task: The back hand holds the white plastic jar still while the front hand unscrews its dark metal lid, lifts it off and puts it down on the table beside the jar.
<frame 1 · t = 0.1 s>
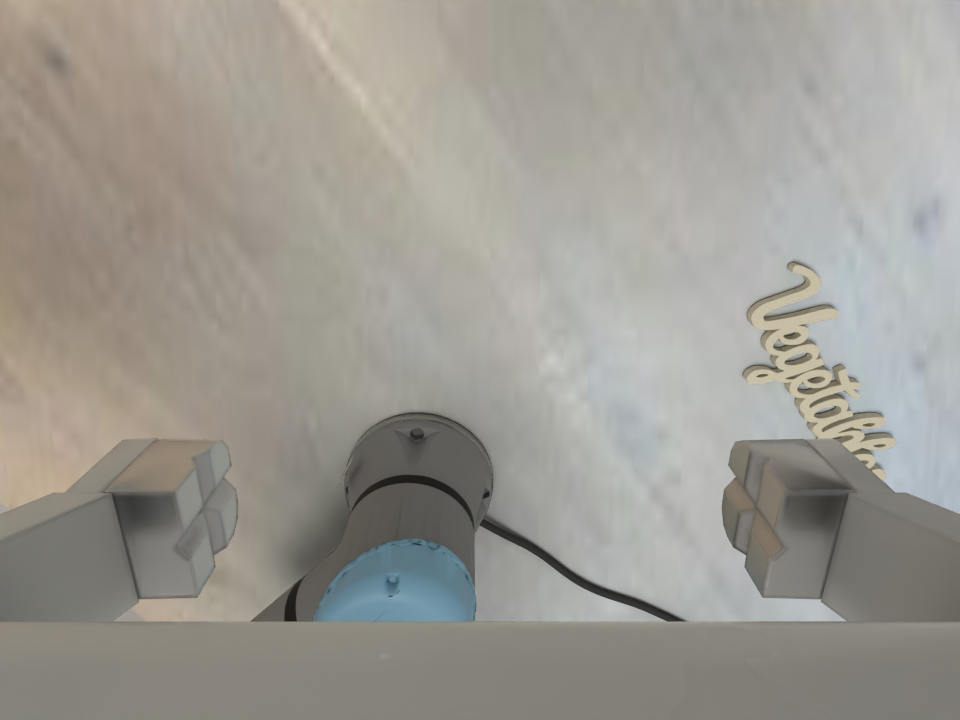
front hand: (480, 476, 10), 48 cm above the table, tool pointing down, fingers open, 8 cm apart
decorative sign: (811, 390, 62), on the table
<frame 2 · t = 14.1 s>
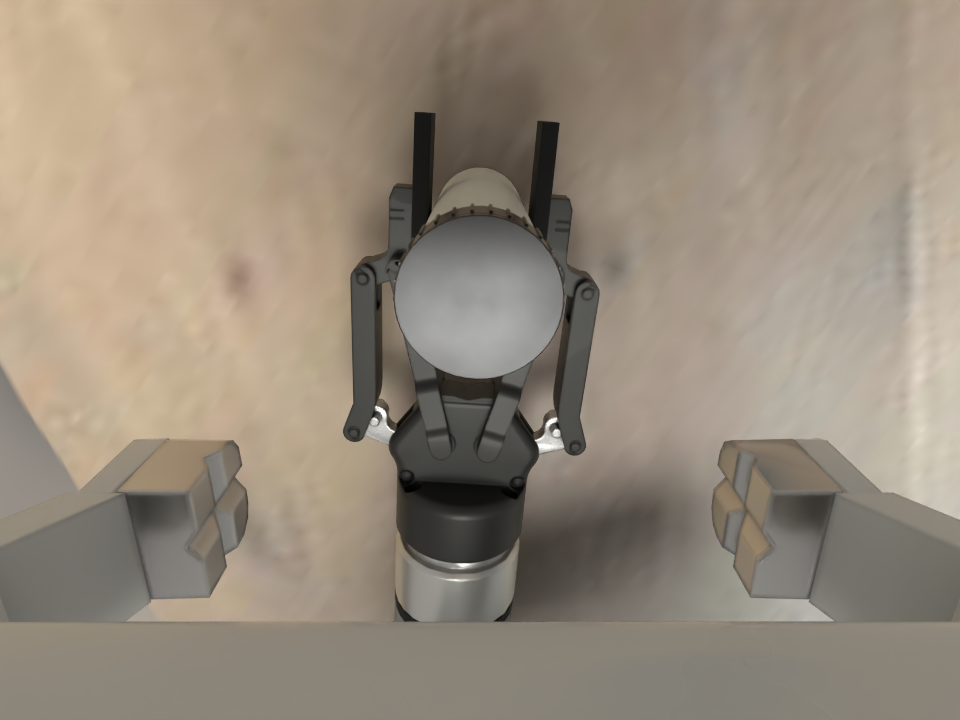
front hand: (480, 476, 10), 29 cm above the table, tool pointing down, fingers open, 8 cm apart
back hand: (486, 118, 29), fingers closed on jar, 5 cm apart
lid: (478, 298, 20), point 19 cm above the table, screwed on, not yet turned
jar: (479, 211, 37), on the table, touching back hand
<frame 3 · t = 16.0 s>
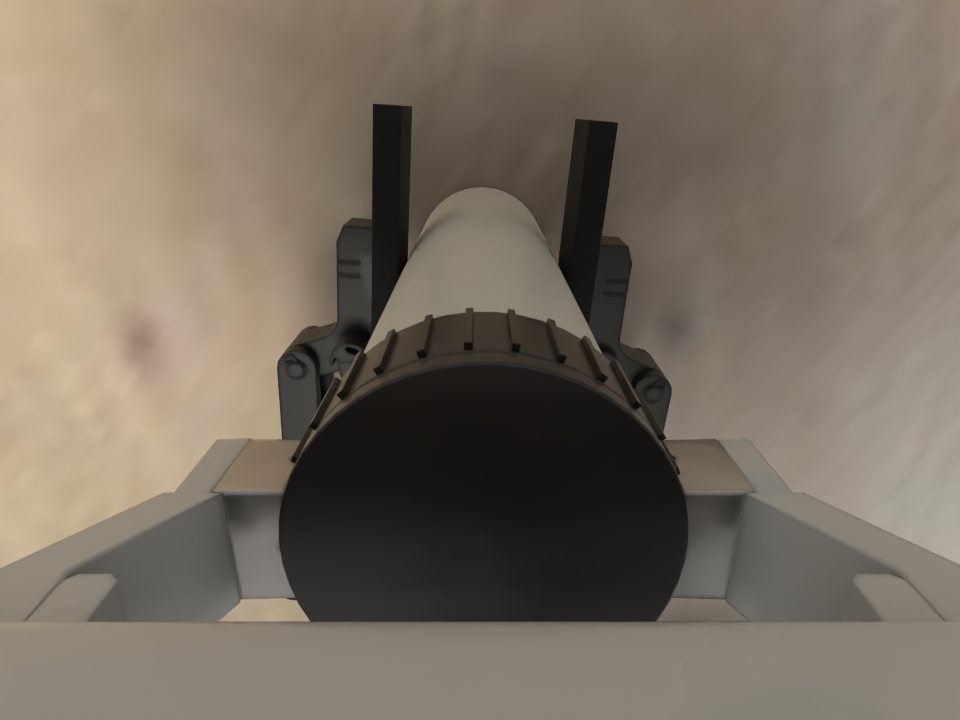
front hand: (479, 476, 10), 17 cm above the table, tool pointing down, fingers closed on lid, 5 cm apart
lid: (483, 535, 9), point 19 cm above the table, screwed on, not yet turned, touching front hand
jar: (481, 249, 26), on the table, touching back hand
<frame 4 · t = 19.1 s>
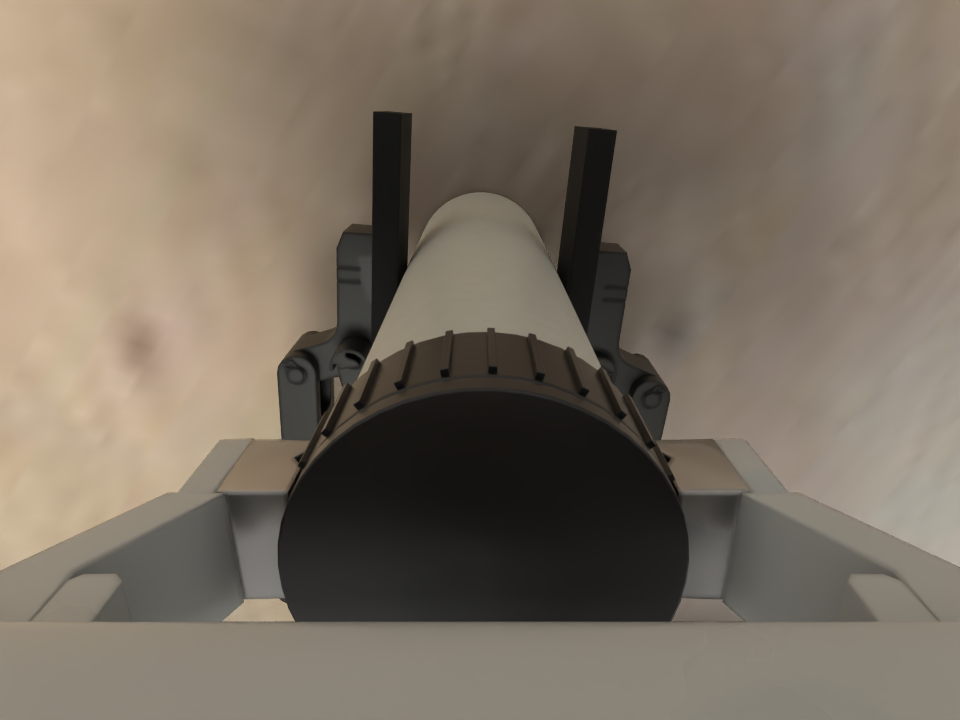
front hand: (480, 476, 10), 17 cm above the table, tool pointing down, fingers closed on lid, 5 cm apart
lid: (483, 557, 8), point 19 cm above the table, turned 68° so far, risen 0.1 cm, still on its thread, touching front hand
jar: (480, 254, 26), on the table, touching back hand
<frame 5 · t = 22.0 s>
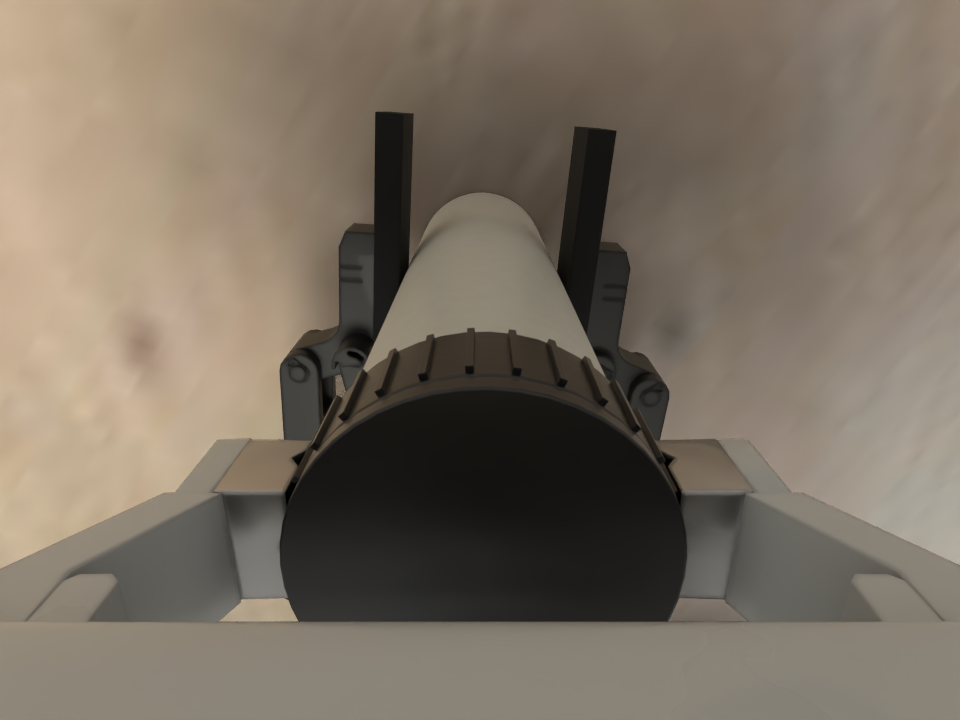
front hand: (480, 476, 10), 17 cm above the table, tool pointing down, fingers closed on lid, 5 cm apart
lid: (483, 555, 9), point 19 cm above the table, turned 136° so far, risen 0.2 cm, still on its thread, touching front hand
jar: (481, 254, 26), on the table, touching back hand
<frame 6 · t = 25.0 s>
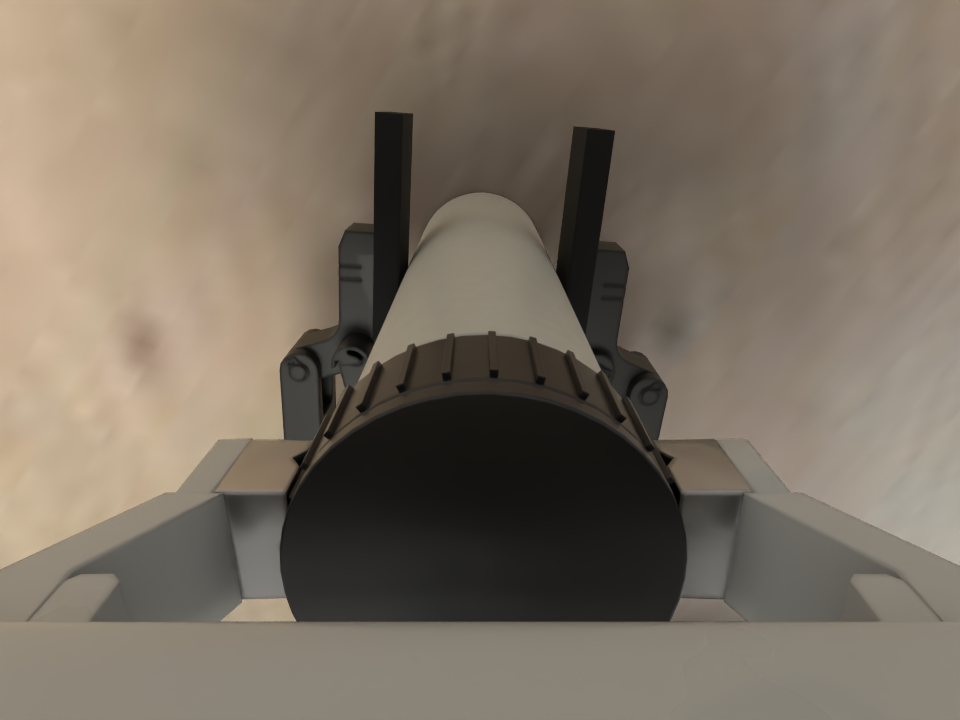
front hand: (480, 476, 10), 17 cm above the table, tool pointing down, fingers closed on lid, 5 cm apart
lid: (483, 558, 9), point 19 cm above the table, turned 204° so far, risen 0.3 cm, still on its thread, touching front hand
jar: (480, 253, 26), on the table, touching back hand
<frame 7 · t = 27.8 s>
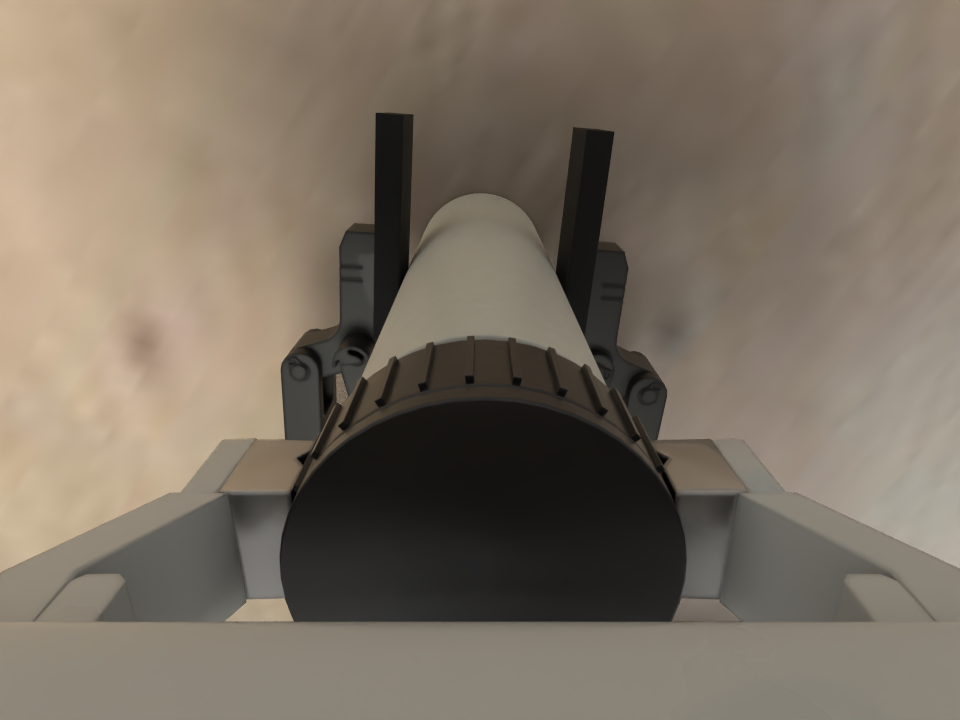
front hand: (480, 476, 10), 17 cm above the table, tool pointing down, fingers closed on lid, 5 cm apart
lid: (483, 563, 9), point 19 cm above the table, turned 273° so far, risen 0.4 cm, still on its thread, touching front hand
jar: (480, 254, 26), on the table, touching back hand
when the front hand's fingers open (2 cm above the table, at t = 37.6 s): lid drops 2 cm, point 2 cm above the table.
when the back hand's fingers open (7 cm above the table, at t = 38.5 s): jar stays where it is, on the table.
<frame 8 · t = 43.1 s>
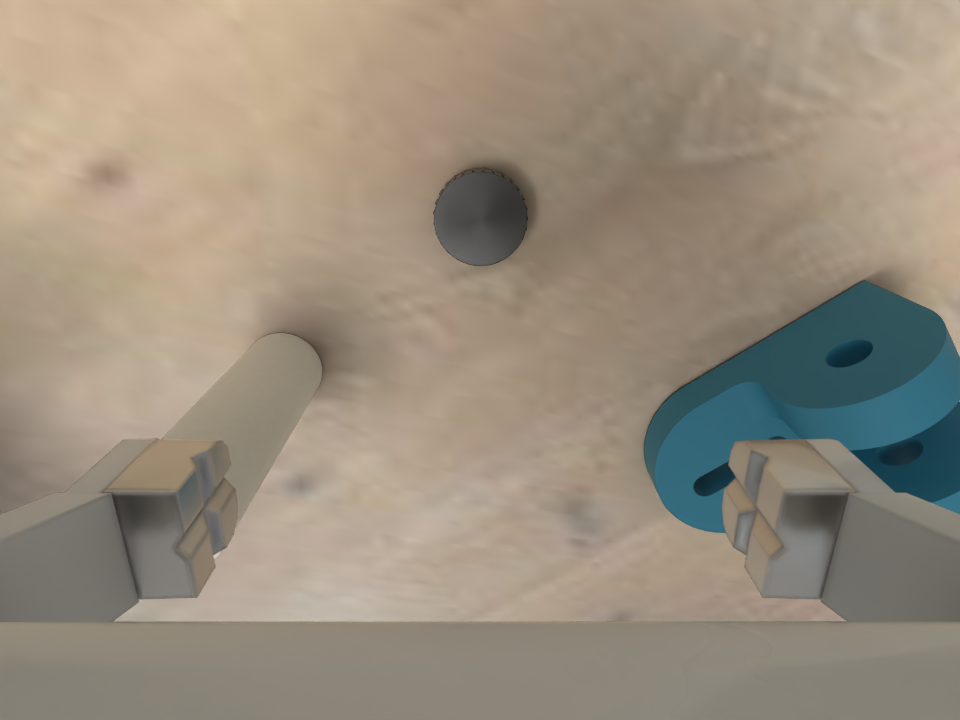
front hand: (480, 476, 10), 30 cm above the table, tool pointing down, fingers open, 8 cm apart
camera mount: (767, 414, 43), on the table
lid: (480, 219, 36), point 2 cm above the table, off its thread
jar: (284, 368, 42), on the table
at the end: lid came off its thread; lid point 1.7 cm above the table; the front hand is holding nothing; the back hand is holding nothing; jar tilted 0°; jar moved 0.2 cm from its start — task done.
